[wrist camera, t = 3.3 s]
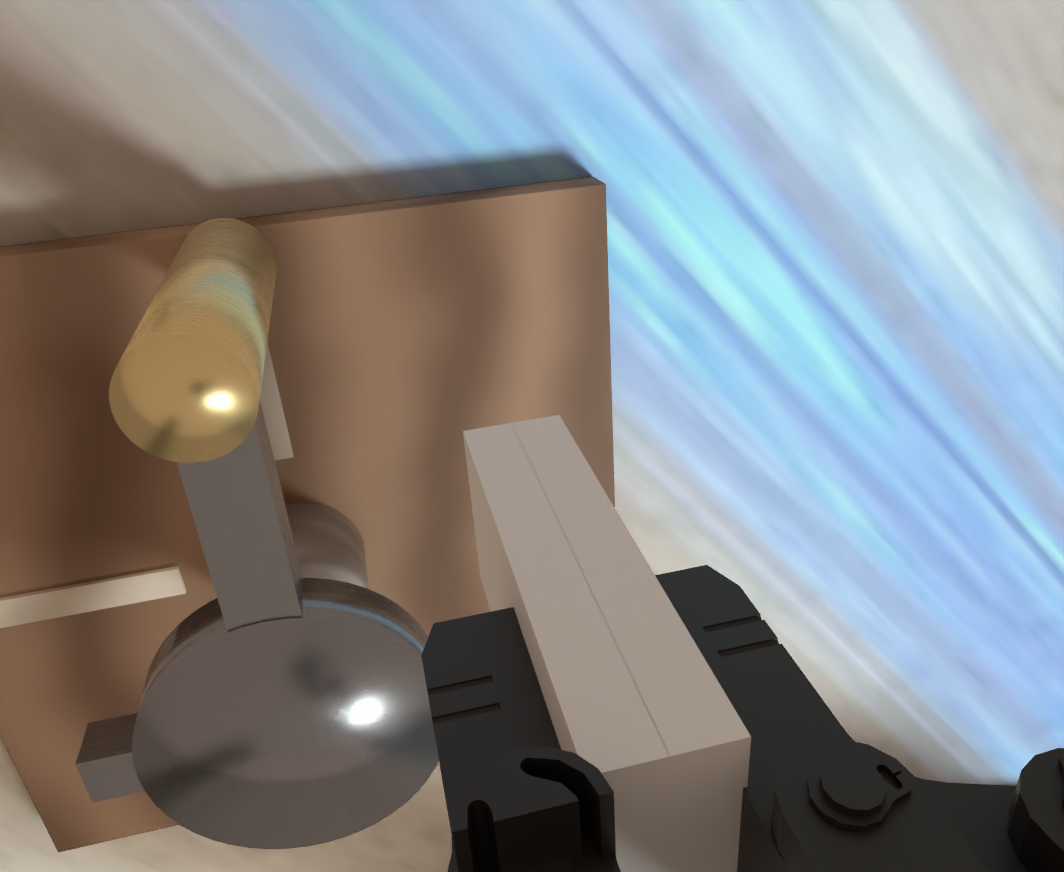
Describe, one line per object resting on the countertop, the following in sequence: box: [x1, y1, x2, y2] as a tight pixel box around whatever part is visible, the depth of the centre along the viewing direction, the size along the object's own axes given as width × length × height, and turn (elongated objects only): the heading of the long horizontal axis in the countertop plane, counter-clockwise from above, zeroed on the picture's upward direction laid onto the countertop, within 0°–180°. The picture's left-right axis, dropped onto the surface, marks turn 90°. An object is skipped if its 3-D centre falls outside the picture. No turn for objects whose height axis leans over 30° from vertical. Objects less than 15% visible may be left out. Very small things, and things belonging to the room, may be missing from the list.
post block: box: [0, 177, 615, 852], centre depth 31 cm, size 26×26×9 cm
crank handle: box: [75, 218, 439, 849], centre depth 27 cm, size 10×18×11 cm, turn 4°
